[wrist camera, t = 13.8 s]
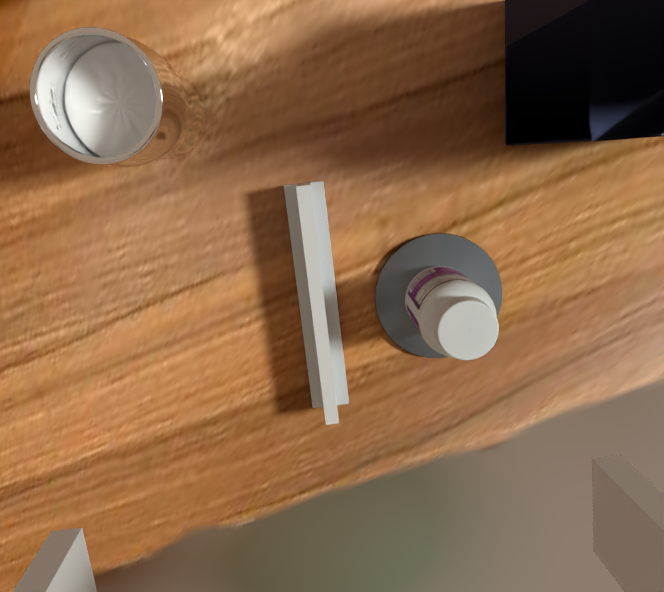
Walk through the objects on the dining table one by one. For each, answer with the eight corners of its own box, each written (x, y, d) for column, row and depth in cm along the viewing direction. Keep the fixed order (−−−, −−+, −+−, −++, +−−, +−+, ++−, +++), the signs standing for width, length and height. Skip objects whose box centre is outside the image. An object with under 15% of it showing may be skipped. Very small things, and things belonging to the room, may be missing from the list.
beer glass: (144, 179, 46) (68, 190, 31) (99, 89, 45) (-3, 58, 30) (228, 141, 46) (191, 134, 31) (186, 49, 44) (126, -3, 30)
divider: (312, 405, 51) (313, 426, 47) (283, 185, 47) (281, 188, 43) (348, 401, 51) (352, 421, 47) (323, 180, 47) (324, 183, 43)
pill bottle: (471, 328, 49) (509, 369, 40) (405, 332, 49) (427, 374, 40) (471, 261, 48) (510, 288, 38) (403, 265, 48) (426, 292, 38)
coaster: (381, 362, 50) (382, 364, 49) (369, 241, 48) (369, 242, 47) (502, 347, 50) (505, 349, 50) (496, 225, 48) (498, 226, 47)
